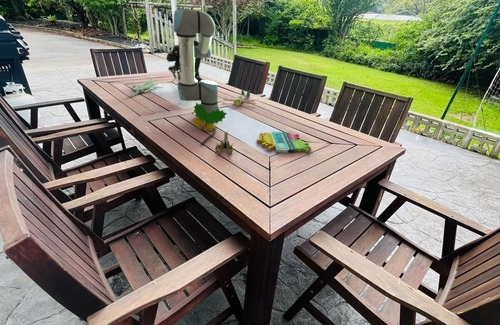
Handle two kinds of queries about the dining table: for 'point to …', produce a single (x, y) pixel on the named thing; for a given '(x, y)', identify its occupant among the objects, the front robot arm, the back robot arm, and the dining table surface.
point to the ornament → (207, 117)
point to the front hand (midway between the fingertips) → (186, 93)
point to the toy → (241, 99)
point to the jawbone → (224, 145)
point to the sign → (283, 142)
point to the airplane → (143, 87)
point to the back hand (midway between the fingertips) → (179, 79)
